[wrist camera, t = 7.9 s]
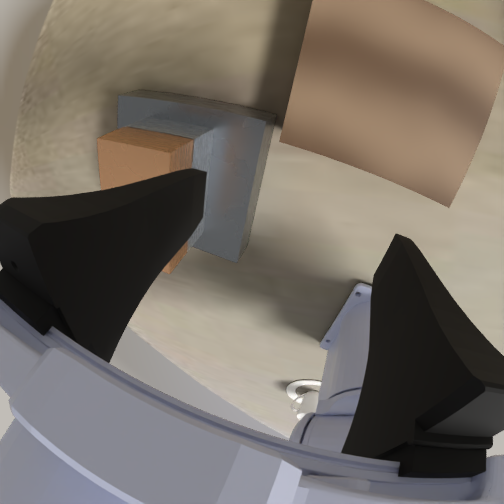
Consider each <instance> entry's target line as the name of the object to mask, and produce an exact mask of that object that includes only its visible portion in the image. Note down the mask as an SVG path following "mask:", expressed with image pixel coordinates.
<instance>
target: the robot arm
mask: <svg viewBox="0 0 504 504" xmlns="http://www.w3.org/2000/svg"><path fill="white" fill-rule="evenodd" d="M206 178H207V172H206V171H202V170H198V169H194V168H190V169H183V170H179V171H175V172H171V173H167V174H164V175H160V176H156V177H153V178H149V179H146V180H142V181H138V182H134V183H131V184H127V185H123V186H119V187H115V188H110V189H105V190H100V191H94V192H88V193H81V194H74V195H66V196H55V197H31V198H10V199H7V200H6V201H4V202H3V203H2V204H0V263H1V265H2V267H3V269H2V270H1V271H0V386H1V387H2V389H3V390H4V391H5V392H6V393H7V394H8V395H9V396H10V397H11V398H10V399H9V404H10V409H11V412H12V414H13V415H14V417H15V419H14V420H13V422H12V424H11V425H10V426H9V428H8V430H7V431H6V433H5V434H4V436H3V437H2V439H1V441H0V504H504V455H495V456H490V457H487V458H486V449H490V448H491V447H492V445H493V436H494V435H496V434H498V433H499V432H501V431H503V430H504V356H503V355H502V354H501V353H500V352H499V351H498V350H497V349H496V348H495V347H494V346H493V345H492V344H491V343H490V342H489V341H488V340H487V339H486V338H485V337H484V335H483V334H482V333H481V332H480V331H479V330H478V329H477V328H476V326H475V325H474V324H473V323H472V322H471V321H470V319H469V318H468V317H467V316H466V314H465V313H464V312H463V311H462V309H461V308H460V307H459V306H458V304H457V303H456V302H455V300H454V299H453V298H452V296H451V295H450V293H449V292H448V290H447V289H446V288H445V286H444V285H443V283H442V282H441V281H440V279H439V278H438V276H437V275H436V273H435V272H434V270H433V269H432V267H431V266H430V264H429V263H428V261H427V260H426V258H425V257H424V256H423V254H422V253H421V251H420V250H419V249H418V247H417V246H416V245H415V243H414V242H413V241H412V240H411V239H409V238H407V237H404V236H402V235H399V234H395V236H394V238H393V240H392V242H391V244H390V246H389V248H388V250H387V252H386V254H385V256H384V257H383V259H382V261H381V263H380V265H379V267H378V268H377V270H376V272H375V274H374V277H373V284H372V286H369V285H367V284H364V283H358V284H357V285H356V286H355V287H354V289H353V291H352V292H351V294H350V296H349V298H348V299H347V301H346V303H345V304H344V306H343V308H342V309H341V311H340V312H339V314H338V316H337V317H336V319H335V321H334V322H333V324H332V325H331V327H330V328H329V330H328V332H327V333H326V335H325V336H324V338H323V339H322V341H321V343H320V347H321V348H323V349H326V350H328V353H327V358H326V363H325V368H324V373H323V377H322V382H321V386H320V390H319V395H318V404H317V408H316V412H310V413H307V414H306V415H305V416H304V417H303V418H302V419H301V420H300V421H299V422H298V423H297V425H296V426H295V428H294V429H293V431H292V434H291V436H290V439H289V441H288V440H285V439H281V438H278V437H275V436H271V435H268V434H265V433H262V432H259V431H255V430H253V429H250V428H247V427H244V426H241V425H238V424H235V423H233V422H230V421H227V420H225V419H222V418H220V417H217V416H215V415H212V414H210V413H207V412H205V411H203V410H200V409H198V408H196V407H193V406H191V405H189V404H186V403H184V402H182V401H180V400H178V399H175V398H173V397H171V396H169V395H167V394H165V393H163V392H161V391H159V390H157V389H155V388H153V387H151V386H149V385H147V384H145V383H143V382H141V381H139V380H138V379H135V378H134V377H132V376H130V375H128V374H127V373H125V372H123V371H121V370H119V369H118V368H116V367H114V366H113V365H111V364H109V362H110V360H111V358H112V356H113V353H114V351H115V348H116V347H117V344H118V342H119V340H120V338H121V336H122V334H123V332H124V330H125V328H126V326H127V324H128V322H129V321H130V319H131V317H132V315H133V313H134V312H135V310H136V308H137V307H138V305H139V303H140V301H141V300H142V298H143V297H144V295H145V293H146V292H147V290H148V289H149V287H150V286H151V284H152V283H153V281H154V280H155V279H156V277H157V276H158V275H159V273H160V272H161V271H162V270H163V269H164V267H165V266H166V265H167V264H168V263H169V262H170V260H171V259H172V258H173V257H174V256H175V255H176V253H177V252H178V251H179V250H180V249H181V248H182V246H183V245H184V244H185V243H186V242H187V241H188V239H189V238H190V237H191V236H192V234H193V233H194V231H195V230H196V228H197V226H198V225H199V223H200V222H201V220H202V218H203V212H204V200H205V189H206ZM356 292H360V293H359V294H358V293H356Z"/></svg>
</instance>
